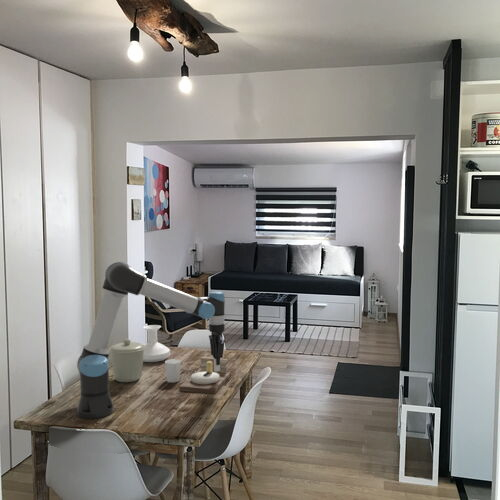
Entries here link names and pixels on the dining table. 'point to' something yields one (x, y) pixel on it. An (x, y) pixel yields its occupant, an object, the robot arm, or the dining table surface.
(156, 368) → the dining table surface
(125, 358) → the canister
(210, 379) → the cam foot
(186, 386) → the stand
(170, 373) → the white cup
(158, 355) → the white vase
